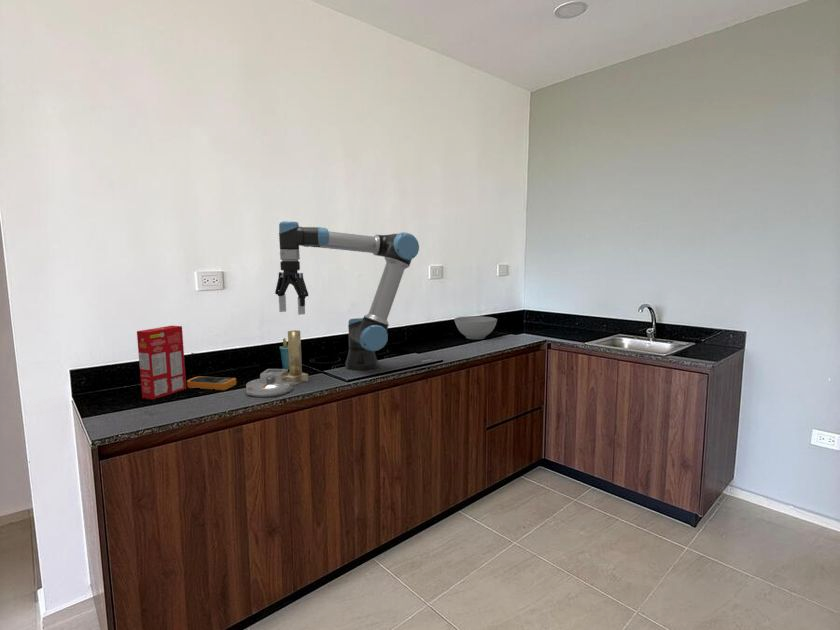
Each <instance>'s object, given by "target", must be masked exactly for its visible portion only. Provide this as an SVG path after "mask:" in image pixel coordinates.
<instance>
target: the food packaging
mask: <svg viewBox="0 0 840 630" xmlns="http://www.w3.org/2000/svg"><path fill="white" fill-rule="evenodd" d="M183 337H184V336H183V326H182V325H167V326H162V327H156V328H155V327H154V328H149V329H142V330H137V331H136V339H137V350H138V351H137V353H138V363H139V364H138V365H139V375H140V376H139V377H140V387H141V398H142V399H144V398H146V399H145V400H150V399H151V400H152V401H154V400H156V398H157V399H159V398H163V397H166V396H169V395H172V394H176V393H179V392H181V390H182V391H184V389H185V390H187V379H186V366H185V352H184V349H185V347H184V338H183ZM178 391H179V392H178ZM153 399H154V400H153ZM151 400H150V401H151Z"/></svg>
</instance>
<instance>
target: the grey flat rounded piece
mask: <svg viewBox="0 0 840 630" xmlns="http://www.w3.org/2000/svg"><path fill="white" fill-rule="evenodd" d="M288 373H289V371H288V369H283V368H267V369H266V370H264V371H262V372H261V373H260V375H259V378H257V379H256V378H255V379H253V380H250V381H248V382H247V383H246V384H245V388H246V394H247V395H248V396H251V397H256V398H257V397H258V398H271V397H276V396H282V395H284V394H288V393H290V392H292V391H293V389H294V385H293V382H292V380H291V379H290V378H286V377H288Z"/></svg>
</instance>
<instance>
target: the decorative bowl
mask: <svg viewBox="0 0 840 630" xmlns="http://www.w3.org/2000/svg"><path fill="white" fill-rule="evenodd" d="M453 321H454V323H455V325H456V328H457V329H458V331H459V333H460V334H462V335H463V336H465V338H466V339H468V340H483V339H485V338H486V336H488V335H490V334H491V333H492V331H493V330H494V329H495V327H496V325H497V322H498V318H495V317H492V316H484V315H483V316H482V315H481V316H477V315H475V316H474V315H470V316H467V315H466V316H458V317H457V316H456V317H455V318H454V320H453Z"/></svg>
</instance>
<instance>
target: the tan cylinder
mask: <svg viewBox="0 0 840 630" xmlns="http://www.w3.org/2000/svg"><path fill="white" fill-rule="evenodd" d="M301 338H302V337H301V330H296V329H295V330H288V331H287V345H288V350H289V371H288V373H290V375H292V376H297V375H301V374H302V373H303V370H302V369H303V368H302V367H303V366H302V345H301V344H302V342H301V341H302V340H301Z"/></svg>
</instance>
